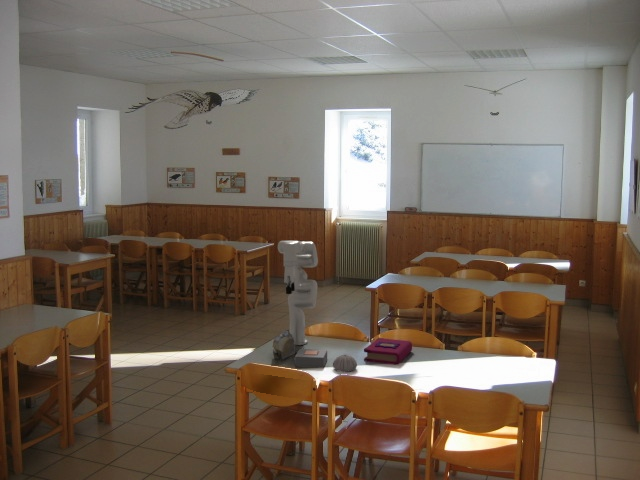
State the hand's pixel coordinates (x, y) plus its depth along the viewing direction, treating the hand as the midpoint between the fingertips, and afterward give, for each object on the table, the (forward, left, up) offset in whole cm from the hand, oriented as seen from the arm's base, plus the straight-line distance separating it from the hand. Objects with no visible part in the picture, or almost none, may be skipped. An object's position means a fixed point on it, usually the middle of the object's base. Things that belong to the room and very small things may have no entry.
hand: (290, 292), depth 392 cm
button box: (+19, +15, -36) cm, 44 cm away
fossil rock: (+9, -4, -37) cm, 38 cm away
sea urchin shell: (+29, +35, -37) cm, 58 cm away
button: (+19, +15, -33) cm, 41 cm away
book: (+2, +57, -37) cm, 68 cm away
